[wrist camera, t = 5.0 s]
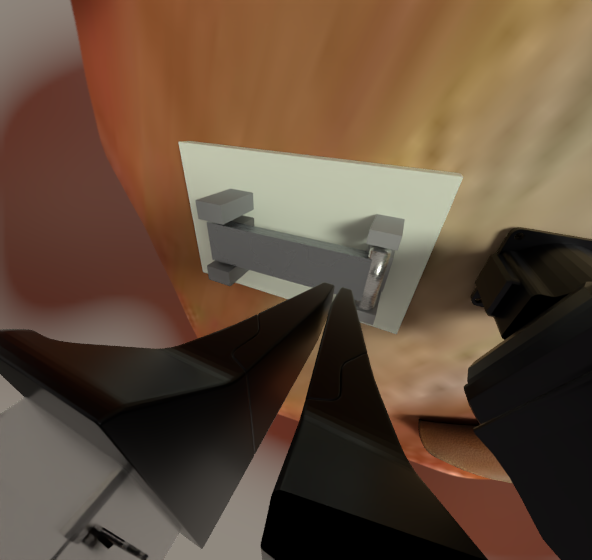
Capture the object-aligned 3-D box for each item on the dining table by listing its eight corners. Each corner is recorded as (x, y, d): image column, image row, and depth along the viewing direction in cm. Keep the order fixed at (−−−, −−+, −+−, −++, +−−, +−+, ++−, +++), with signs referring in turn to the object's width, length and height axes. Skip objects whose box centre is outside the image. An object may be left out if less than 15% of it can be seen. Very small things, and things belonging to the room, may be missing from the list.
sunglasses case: (438, 459, 32) (432, 496, 26) (422, 403, 33) (414, 428, 27) (661, 491, 22) (727, 563, 16) (628, 410, 23) (680, 451, 17)
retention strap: (392, 247, 16) (390, 256, 15) (375, 301, 19) (373, 312, 18) (215, 210, 21) (204, 215, 19) (221, 259, 23) (212, 265, 22)
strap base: (459, 173, 16) (477, 192, 11) (397, 324, 24) (392, 371, 19) (190, 141, 23) (132, 144, 18) (211, 266, 31) (174, 291, 26)
